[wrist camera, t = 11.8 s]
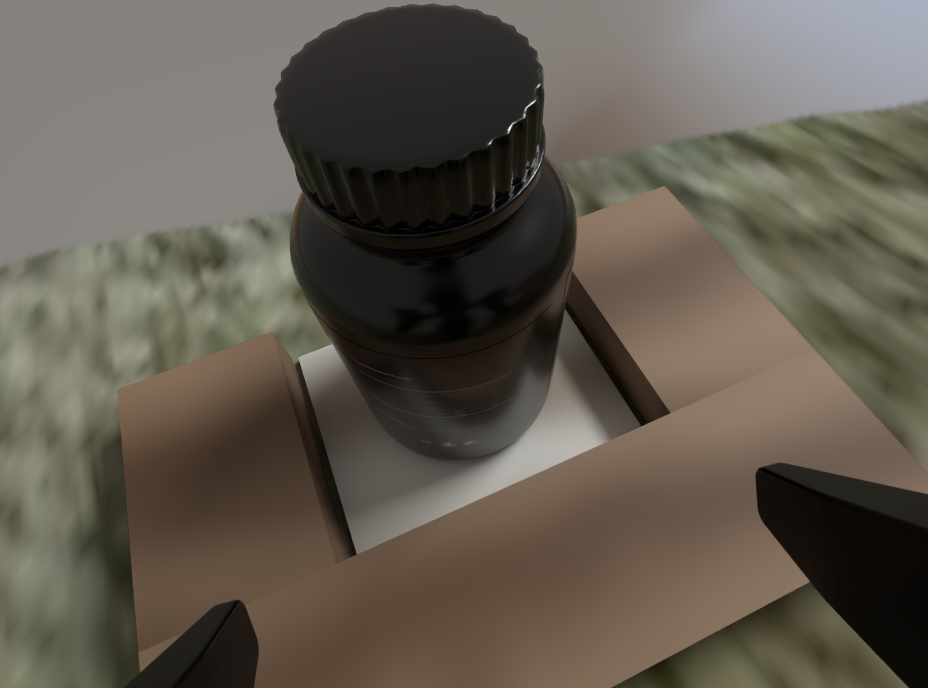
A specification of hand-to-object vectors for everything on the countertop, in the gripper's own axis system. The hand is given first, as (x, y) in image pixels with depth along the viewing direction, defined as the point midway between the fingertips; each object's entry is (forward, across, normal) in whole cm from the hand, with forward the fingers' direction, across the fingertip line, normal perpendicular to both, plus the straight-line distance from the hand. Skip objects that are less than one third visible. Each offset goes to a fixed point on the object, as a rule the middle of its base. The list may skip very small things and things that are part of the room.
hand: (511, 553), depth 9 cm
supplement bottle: (+11, 0, 0) cm, 11 cm away
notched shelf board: (+9, -1, +3) cm, 9 cm away
